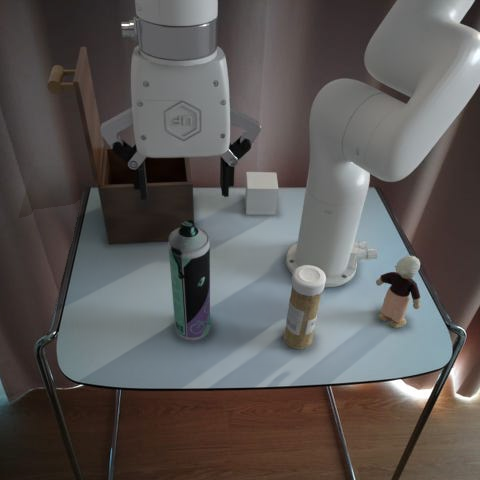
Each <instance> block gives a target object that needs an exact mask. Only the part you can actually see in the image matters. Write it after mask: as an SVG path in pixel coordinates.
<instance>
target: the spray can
mask: <svg viewBox="0 0 480 480" xmlns="http://www.w3.org/2000/svg"><path fill="white" fill-rule="evenodd" d="M167 244H168V245H167V247H168V258H169V270H170V280H171V281H170V282H171V293H172V305H173V315H174V328H175V332H176V334H177V336H179V338H181V339H183V340H186V341H192V342H195V341H200V340H203V339H204V338H206V337H207V336H208V334H209V333H210V330H211V243H210V237H209V234H208V233H207V231H205V230H204V229H202V228H200V227H197V226H196V223H195V220H194V221H192V220H188V221H185V222H183V223H182V224H181V227H180V228H178V229H176V230H174V231H173V232H172V233H171V234H170V236H169V241H167Z"/></svg>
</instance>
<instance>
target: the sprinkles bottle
mask: <svg viewBox="0 0 480 480" xmlns="http://www.w3.org/2000/svg"><path fill="white" fill-rule="evenodd" d="M325 281H326V276H325V274H324V272H323V271H322V270H321V269H319V268H318V267H315V266H311V265H304V266H300V267H298V268H297V269H295V271H294V272H293V274H292V276H291V291H290V296H289V301H288V307H287V314H286V319H285V330H284V333H283V340H284V343H285V344H286V345H287V346H288V347H290V348H292V349H295V350H304V349H306V348H308V347H309V346H311V344H312V342H313V335H314V331H315V327H316V322H317V319H318V318H317V317H318V312H319V308H320V302H321V297H322V292H323V291H324V290H325V287H324V286H325Z"/></svg>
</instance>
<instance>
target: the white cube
mask: <svg viewBox="0 0 480 480" xmlns="http://www.w3.org/2000/svg"><path fill="white" fill-rule="evenodd" d="M279 190H280V189H279V181H278V174H277V172H276V171H275V172H274V171H273V172H272V171H271V172H270V171H269V172H268V171H246V174H245V193H244V201H245V215H251V216H253V215H255V216H256V215H257V216H258V215H259V216H277V207H278V199H279Z"/></svg>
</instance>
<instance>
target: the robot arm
mask: <svg viewBox="0 0 480 480" xmlns="http://www.w3.org/2000/svg"><path fill="white" fill-rule="evenodd" d="M475 1H476V0H396V1H395V3H394V4H393V5H392V7H391V9H390V10H389V11H388V13H387V14H386V15H385V17H384V18H383V20H382V21H381V23H380V24H379V26H378V27H377V29H376V30H375V31H374V33H373V35H372V37H371V38H370V39H369V41H368V44H367V46H366V48H365V52H364V54H363V55H364V57H363V61H364V67H365V69H366V71H367V73H368V74H369V75H370V76H371V77H372V78H373V79H374V80H376V81H377V82H380V83H381V84H383V85H385V86H387V87H388V88H391V89H393V90H395V91H397V92H399V93H401V94H403V95H405V96H407V97H409V100H408V101H407V103H405V102H403V101H401V100H399V99H397V98H395V97H393V96H391V95H390V94H388V93H386V92H384V91H383V90H380V89H377V88H376V87H373V86H372V85H370V84H367V83H366V82H362V81H360V80H357V79H354V78H338V79H334V80H331V81H329V82H328V83H326V84H325V85H324V86H323V87H322V88H321V89H320V90H319V91H318V92H317V95H316V96H315V98H314V100H313V102H312V105H311V107H310V112H309V119H308V121H309V122H308V130H309V132H308V134H309V162H308V163H309V165H308V166H309V167H308V173H307V179H306V184H305V185H306V187H305V192H304V198H303V205H302V211H301V219H300V225H299V229H298V230H299V231H298V237H297V242H295V243H294V244H292V245H291V246H290V247H289V249H288V251H287V253H286V259H285V260H286V261H285V263H286V267H287V269H288V271H289V273H291V275H293V272H294V271H295V269H297V268H298V267H300V266H304V265H311V266H315V267H318V268H319V269H321V270H322V271H323V272H324V274H325V276H326V281H325V286H324V288H334V287H339V286H342V285H345V284H346V283H348V282H350V281H351V280H352V279H353V278H354V276H355V274H356V271H357V269H358V268H357V267H358V263H359V262H360V261H361V260H377V258H378V257H379V256H378V255H379V253H378V249H377V248H376V247H372V248H371V247H370V248H367V242H366V241H365V240H364V241H363V240H362V241H356V238H357V237H356V236H357V232H358V230H359V226H360V221H361V217H362V213H363V210H364V205H365V202H366V199H367V195H368V191H369V187H370V181H371V180H370V179H371V175H372V176H374V177H375V178H377V179H379V180H381V181H383V182H388V183H396V182H399V181H402V180H403V179H406V177H408V176H409V175H411V173H413V171H414V170H416V169H417V168H418V167H419V166H420V164H421V163H422V162H423V160H424V159H425V158H426V157H427V155H428V154H429V153H430V152H431V151H432V149H433V148H434V147H435V145H436V144H437V143H438V141H439V140H440V139H441V137H442V136H443V135H444V134H445V133H446V131H447V130H448V128H449V127H450V126H451V125H452V124H453V122H454V121H455V120H456V118H457V117H458V116H459V114H460V113H461V112H462V111H463V110H464V108H465V107H466V106H467V104H468V103H469V101H470V100H471V99H472V98H473V96H474V95H475V93H476V91H477V89H478V88H479V87H480V31H478V30H476V29H474V28H472V27H470V26H468V25H465V24H463V23H461V21H462V20H463V19H464V17H465V16H466V15H467V13H468V11H470V9H471V7H472V6H473V4H474V3H475ZM134 4H135V5H134V7H135V15H136V16H133V18H132V19H129V20H128V21H121V25H120V26H121V34H122V38H123V39H130V40H131V41H135V44H138V45H137V46H135V47H134V49H133V51H132V54H131V62H130V97H131V107H129V108H127V109H125V110H124V111H122V112H120V113H118V114H117V115H115V116H113V117H111V118H110V119H108V120H105V121H104V122H102V123H100V126H101V129H100V133H101V135H102V137H103V140H104V141H105V143H107V145H108V147H111V148H112V150H113V152H114V153H115V154H116V155H117V156H118V157H120V158H121V159H122V160H124V161H125V162H126V163H127V164H128V166H129V168H131V169H132V175H133V183H134V190H140V193H141V200H146V199H147V179H146V170H145V159H146V157H151V158H178V157H189V158H204V157H205V158H207V157H208V158H209V157H218V156H219V157H220V159H219V162H220V163H219V165H220V166H219V184H220V191H221V195H222V197H224V198H229V196H230V195H229V194H230V188H231V187H234V186H235V170H236V169H235V167H236V166H237V165H238V164H239V160H241V159H242V158H243V157H244V156H245V155H246V154H247V153H248V152H249V151H250V150H251V149H252V145H253V143H254V142H255V141H256V139H257V137H258V136H259V134H260V133H261V130H262V126H261V124H260V121H259V120H257V119H255V118H254V117H252V116H249V115H248V114H245V113H243V112H242V111H240V110H238V109H236V108H234V107H232V106H231V100H230V83H229V82H230V81H229V72H228V64H227V59H226V58H227V57H226V53H225V52H224V51H223V49H222V47H220V46H218V24H219V23H218V19H219V18H218V17H219V16H218V14H219V13H218V12H219V10H218V8H219V0H134ZM231 125H233V126H235V127H237V128H238V129H241V130H242V131H243V132H242V134H241V135H240V136H239V137H238V138H237V139H236V140H235V141H234V142H233V143H231ZM130 127H133V135H134V143H133V144H132V145H130V144H129V143H128V142H126V141H125V140H124V139H123V138H121V137H120V134H119V133H121V132H122V131H124V130H126V129H128V128H130ZM131 146H132V147H131Z"/></svg>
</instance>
